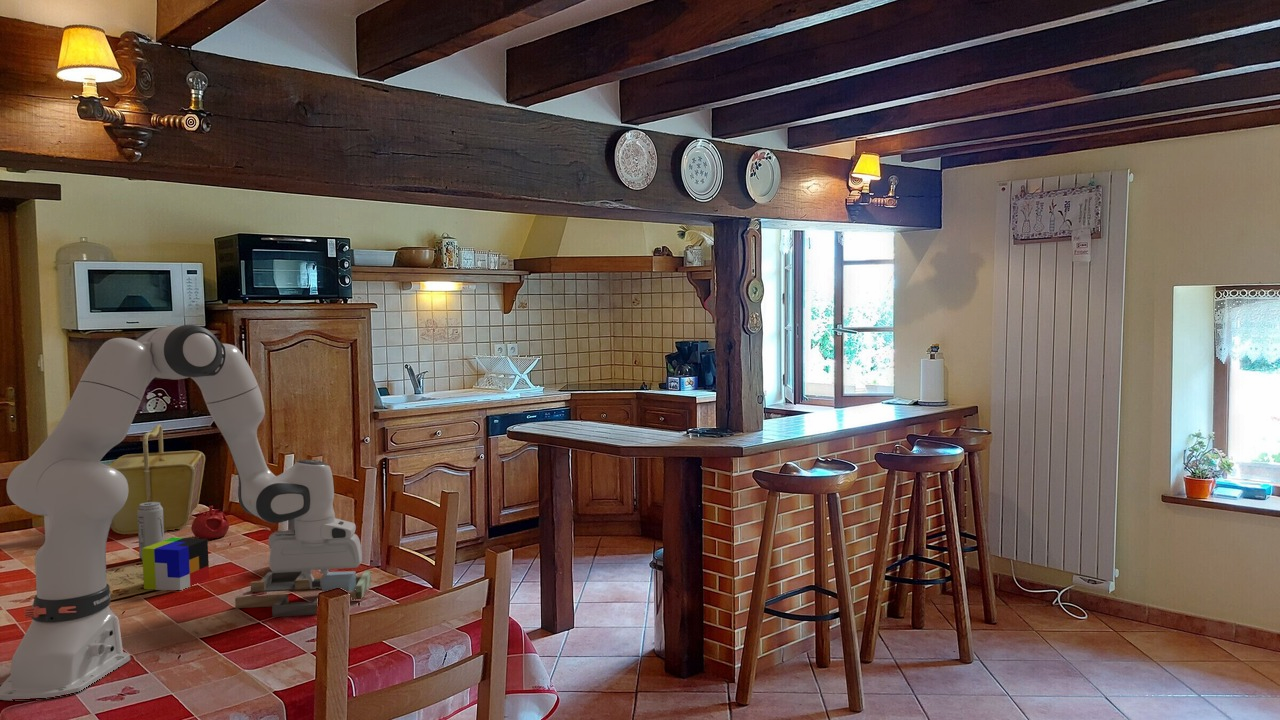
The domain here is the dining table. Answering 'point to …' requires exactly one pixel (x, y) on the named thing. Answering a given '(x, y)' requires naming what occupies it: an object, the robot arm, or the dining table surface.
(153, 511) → the energy drink can
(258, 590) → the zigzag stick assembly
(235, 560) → the dining table surface
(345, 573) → the block
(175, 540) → the puzzle toy
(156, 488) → the picnic basket
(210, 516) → the pomegranate
